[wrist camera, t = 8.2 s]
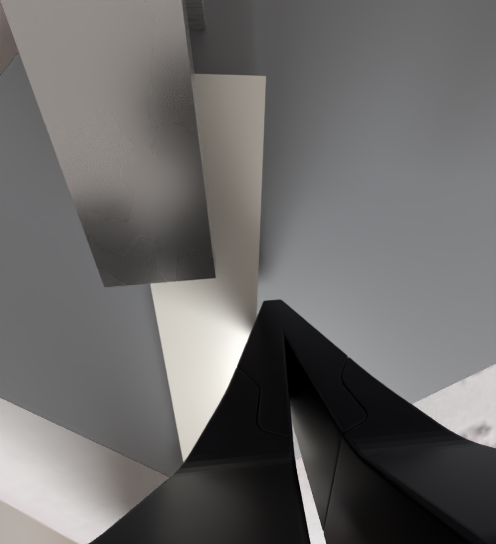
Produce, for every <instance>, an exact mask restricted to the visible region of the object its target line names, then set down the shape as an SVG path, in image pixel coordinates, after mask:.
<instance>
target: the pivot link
mask: <svg viewBox="0 0 496 544" xmlns="http://www.w3.org/2000/svg"><path fill="white" fill-rule="evenodd" d="M194 76H195V85H196V93H197V102H198V110H199V119H200V127H201V136H202V144H203V153H204V161H205V170H206V178H207V187H208V195H209V203H210V212H211V220H212V229H213V237H214V246H215V254H216V278H212V279H200V280H188V281H176V282H164V283H152V284H150V285H151V291H152V296H153V301H154V307H155V312H156V318H157V323H158V328H159V334H160V339H161V344H162V350H163V355H164V361H165V366H166V371H167V377H168V382H169V388H170V393H171V398H172V404H173V409H174V414H175V420H176V425H177V431H178V436H179V441H180V447H181V452H182V457H183V462H184V461H185V460H186V458H187V457H188V455H189V454H190V452H191V450H192V449H193V447H194V445H195V444H196V442H197V440H198V439H199V437H200V435H201V433H202V432H203V430H204V428H205V427H206V425H207V423H208V422H209V420H210V418H211V417H212V415H213V413H214V411H215V410H216V408H217V406H218V404H219V403H220V401H221V399H222V397H223V395H224V393H225V392H226V389H227V387H228V385H229V383H230V381H231V378H232V376H233V374H234V371H235V369H236V368H237V364H238V362H239V359H240V357H241V354H242V352H243V349H244V347H245V345H246V342H247V340H248V337H249V335H250V332H251V330H252V327H253V325H254V323H255V320H256V318H257V294H258V268H259V243H260V217H261V192H262V166H263V140H264V115H265V89H266V76H250V75H218V74H194Z"/></svg>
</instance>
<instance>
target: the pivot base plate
mask: <svg viewBox="0 0 496 544" xmlns="http://www.w3.org/2000/svg"><path fill="white" fill-rule="evenodd" d="M204 9H205V19H206V30H197V31H189V34H190V42H191V51H192V59H193V68H194V74H218V75H250V76H266V89H265V115H264V140H263V166H262V192H261V217H260V243H259V268H258V294H257V315H258V313H259V310H260V308H261V305H262V303H263V301H265V300H277V299H281V300H283V301H284V302H285V303H286V304H288V305H289V306H290V307H291V308H292V309H293V310H295V311H296V312H297V313H298V314H299V315H300V316H302V317H303V318H304V319H305V320H306V321H308V322H309V323H310V324H311V325H312V326H313V327H315V328H316V329H317V330H318V331H319V332H320V333H322V334H323V335H324V336H325V337H326V338H328V339H329V340H330V341H331V342H332V343H333V344H335V345H336V346H337V347H338V348H339V349H340V350H342V351H343V352H344V353H345V354H346V355H347V356H348V357H350V358H351V359H352V360H354V361H355V362H356V363H357V364H358V365H359V366H361V367H362V368H363V369H364V370H366V371H367V372H368V373H369V374H371V375H372V376H373V377H374V378H376V379H377V380H378V381H380V382H381V383H383V384H384V385H385V386H387V387H388V388H389V389H391V390H392V391H394V392H395V393H396V394H398V395H399V396H401V397H402V398H404V399H405V400H406V401H408V402H409V403H411V404H413V403H415V402H417V401H419V400H421V399H423V398H425V397H427V396H429V395H431V394H433V393H435V392H438V391H440V390H442V389H444V388H446V387H448V386H450V385H452V384H454V383H456V382H458V381H460V380H462V379H465V378H467V377H469V376H471V375H473V374H475V373H477V372H479V371H481V370H483V369H485V368H487V367H489V366H491V365H494V364H496V0H204ZM0 398H2V399H4V400H6V401H9V402H11V403H13V404H15V405H17V406H19V407H21V408H24V409H26V410H28V411H30V412H32V413H34V414H36V415H38V416H41V417H43V418H45V419H47V420H49V421H51V422H53V423H56V424H58V425H60V426H62V427H64V428H66V429H68V430H71V431H73V432H75V433H77V434H79V435H81V436H83V437H85V438H88V439H90V440H92V441H94V442H96V443H98V444H100V445H103V446H105V447H107V448H109V449H111V450H113V451H115V452H118V453H120V454H122V455H124V456H126V457H128V458H130V459H132V460H135V461H137V462H139V463H141V464H143V465H145V466H147V467H150V468H152V469H154V470H156V471H158V472H160V473H162V474H165V475H167V476H169V477H171V476H172V475H173V474H174V473H175V472H176V471H177V470H178V469H179V468H180V466H181V465H182V464H183V457H182V452H181V447H180V441H179V436H178V431H177V425H176V420H175V414H174V409H173V404H172V398H171V393H170V388H169V382H168V377H167V371H166V366H165V361H164V355H163V350H162V344H161V339H160V334H159V328H158V323H157V318H156V312H155V307H154V301H153V296H152V291H151V285H150V284H140V285H127V286H115V287H104V285H103V282H102V280H101V277H100V274H99V271H98V269H97V266H96V263H95V260H94V258H93V255H92V252H91V249H90V246H89V244H88V241H87V238H86V235H85V233H84V230H83V227H82V224H81V222H80V219H79V216H78V213H77V211H76V208H75V205H74V202H73V200H72V197H71V194H70V191H69V189H68V186H67V183H66V180H65V178H64V175H63V172H62V169H61V167H60V164H59V161H58V158H57V156H56V153H55V150H54V147H53V145H52V142H51V139H50V136H49V134H48V131H47V128H46V125H45V123H44V120H43V117H42V114H41V112H40V109H39V106H38V103H37V101H36V98H35V95H34V92H33V90H32V87H31V84H30V81H29V79H28V76H27V73H26V70H25V67H24V65H23V62H22V59H21V56H20V54H19V52H18V53H17V55H16V56H15V57H14V59H13V60H12V61H11V63H10V64H9V65H8V66H7V68H6V69H5V70H4V72H3V73H2V74H1V76H0ZM292 430H293V443H294V453H295V460H296V459H298V458H301V457H302V456H301V452H300V449H299V445H298V442H297V438H296V435H295V431H294V428H293V424H292Z"/></svg>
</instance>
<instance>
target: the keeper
mask: <svg viewBox="0 0 496 544" xmlns="http://www.w3.org/2000/svg"><path fill="white" fill-rule="evenodd" d="M0 1H1V4H2V7H3V10H4V12H5V15H6V18H7V21H8V23H9V26H10V29H11V32H12V34H13V37H14V40H15V43H16V45H17V48H18V51H19V54H20V56H21V59H22V62H23V65H24V67H25V70H26V73H27V76H28V79H29V81H30V84H31V87H32V90H33V92H34V95H35V98H36V101H37V103H38V106H39V109H40V112H41V114H42V117H43V120H44V123H45V125H46V128H47V131H48V134H49V136H50V139H51V142H52V145H53V147H54V150H55V153H56V156H57V158H58V161H59V164H60V167H61V169H62V172H63V175H64V178H65V180H66V183H67V186H68V189H69V191H70V194H71V197H72V200H73V202H74V205H75V208H76V211H77V213H78V216H79V219H80V222H81V224H82V227H83V230H84V233H85V235H86V238H87V241H88V244H89V246H90V249H91V252H92V255H93V258H94V260H95V263H96V266H97V269H98V271H99V274H100V277H101V280H102V282H103V285H104V287H115V286H127V285H140V284H152V283H164V282H176V281H188V280H200V279H212V278H216V254H215V246H214V237H213V229H212V220H211V212H210V203H209V195H208V187H207V178H206V170H205V161H204V153H203V144H202V136H201V127H200V119H199V110H198V102H197V93H196V85H195V76H194V68H193V59H192V51H191V42H190V34H189V31H197V30H206V19H205V9H204V0H0Z"/></svg>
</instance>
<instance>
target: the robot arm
mask: <svg viewBox="0 0 496 544" xmlns="http://www.w3.org/2000/svg"><path fill="white" fill-rule="evenodd" d="M292 424H293V428H294V431H295V435H296V438H297V442H298V445H299V449H300V452H301V456H302V459H303V463H304V466H305V470H306V473H307V477H308V480H309V484H310V487H311V491H312V494H313V498H314V501H315V505H316V508H317V512H318V515H319V519H320V522H321V526H322V529H323V531H324V537H325V540H326V544H496V448H492V447H489V446H485V445H481V444H478V443H475V442H473V441H470V440H467V439H465V438H463V437H461V436H459V435H457V434H455V433H454V432H452V431H450V430H448V429H447V428H445V427H444V426H442V425H441V424H439V423H438V422H436V421H435V420H433V419H432V418H431V417H429V416H428V415H426V414H425V413H423V412H422V411H421V410H419V409H418V408H416V407H415V406H414V405H412V404H411V403H409V402H408V401H406V400H405V399H404V398H402V397H401V396H399V395H398V394H396V393H395V392H394V391H392V390H391V389H389V388H388V387H387V386H385V385H384V384H383V383H381V382H380V381H378V380H377V379H376V378H374V377H373V376H372V375H371V374H369V373H368V372H367V371H366V370H364V369H363V368H362V367H361V366H359V365H358V364H357V363H356V362H355V361H354V360H352V359H351V358H350V357H348V356H347V355H346V354H345V353H344V352H343V351H342V350H340V349H339V348H338V347H337V346H336V345H335V344H333V343H332V342H331V341H330V340H329V339H328V338H326V337H325V336H324V335H323V334H322V333H320V332H319V331H318V330H317V329H316V328H315V327H313V326H312V325H311V324H310V323H309V322H308V321H306V320H305V319H304V318H303V317H302V316H300V315H299V314H298V313H297V312H296V311H295V310H293V309H292V308H291V307H290V306H289V305H288V304H286V303H285V302H284V301H283V300H281V299H277V300H265V301H263V303H262V305H261V308H260V310H259V313H258V315H257V318H256V320H255V323H254V325H253V327H252V330H251V332H250V335H249V337H248V340H247V342H246V345H245V347H244V349H243V352H242V354H241V357H240V359H239V362H238V364H237V368H236V369H235V371H234V374H233V376H232V378H231V381H230V383H229V385H228V387H227V389H226V392H225V393H224V395H223V397H222V399H221V401H220V403H219V404H218V406H217V408H216V410H215V411H214V413H213V415H212V417H211V418H210V420H209V422H208V423H207V425H206V427H205V428H204V430H203V432H202V433H201V435H200V437H199V439H198V440H197V442H196V444H195V445H194V447H193V449H192V450H191V452H190V454H189V455H188V457H187V458H186V460H185V461H184V462H183V464H182V465H181V466H180V468H179V469H178V470H177V471H176V472H175V473H174V474H173V475H172V476H171V477H170V478H169V479H168V480H167V481H165V482H164V483H163V484H162V485H161V486H159V487H158V488H157V489H156V490H155V491H153V492H152V493H151V494H150V495H149V496H147V497H146V498H145V499H144V500H143V501H141V502H140V503H139V504H138V505H137V506H135V507H134V508H133V509H132V510H131V511H129V512H128V513H127V514H126V515H125V516H123V517H122V518H121V519H120V520H119V521H117V522H116V523H115V524H114V525H113V526H111V527H110V528H109V529H108V530H107V531H105V532H104V533H103V534H102V535H100V536H99V537H97V538H96V539H95V540H93V541H92V542H91V543H89V544H311V543H310V538H309V533H308V527H307V522H306V517H305V512H304V506H303V501H302V496H301V490H300V485H299V480H298V474H297V469H296V461H295V453H294V443H293V430H292Z"/></svg>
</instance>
